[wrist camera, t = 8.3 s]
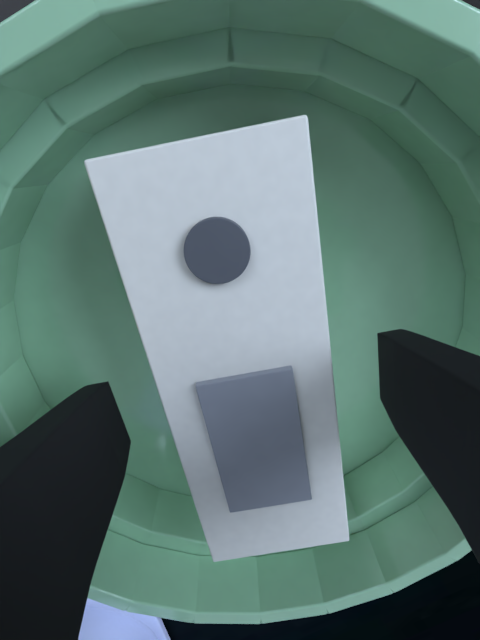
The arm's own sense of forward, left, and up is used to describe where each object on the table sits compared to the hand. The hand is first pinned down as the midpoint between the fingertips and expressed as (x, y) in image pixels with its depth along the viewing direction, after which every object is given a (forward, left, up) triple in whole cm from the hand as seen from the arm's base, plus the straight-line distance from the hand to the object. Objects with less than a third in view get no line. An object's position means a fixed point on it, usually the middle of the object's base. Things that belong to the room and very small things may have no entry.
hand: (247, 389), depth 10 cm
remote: (0, 0, -3) cm, 3 cm away
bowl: (0, 0, -3) cm, 3 cm away
